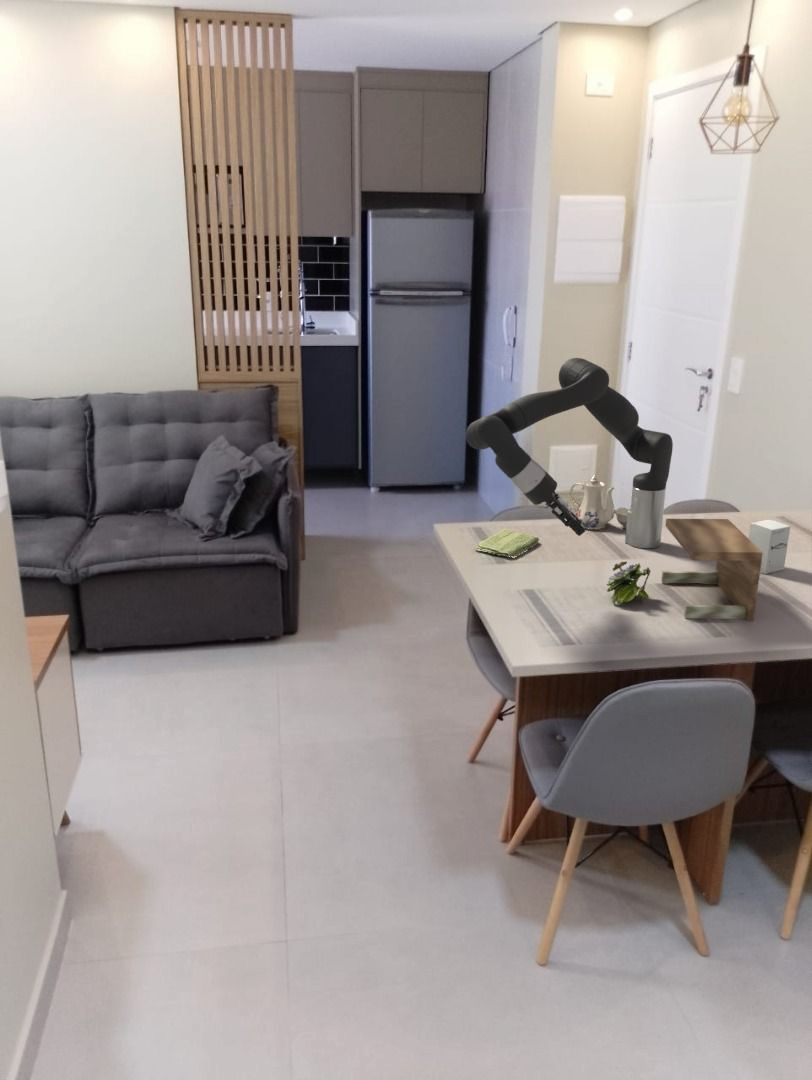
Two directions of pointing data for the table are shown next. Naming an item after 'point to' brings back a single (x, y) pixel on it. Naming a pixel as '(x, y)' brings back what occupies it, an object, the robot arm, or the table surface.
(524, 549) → the washcloth
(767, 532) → the supplement box
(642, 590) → the passion flower
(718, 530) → the shelf
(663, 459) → the robot arm
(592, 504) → the chinaware
